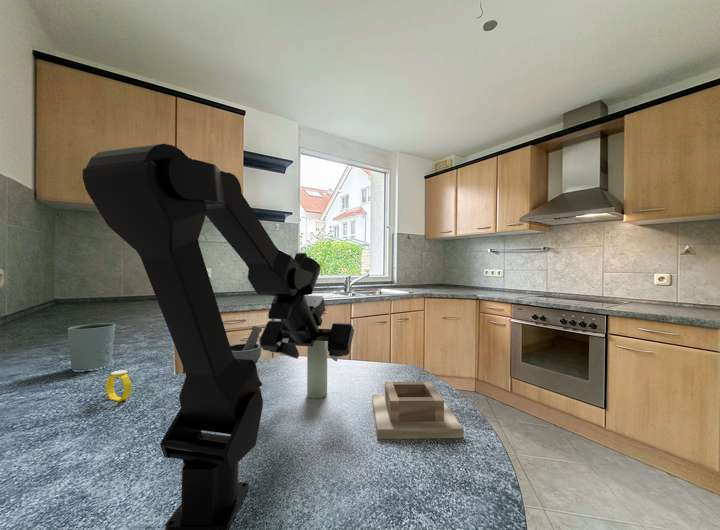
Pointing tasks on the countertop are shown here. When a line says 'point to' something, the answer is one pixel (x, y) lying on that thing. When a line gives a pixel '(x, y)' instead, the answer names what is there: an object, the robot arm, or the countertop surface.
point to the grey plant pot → (91, 345)
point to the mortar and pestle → (248, 347)
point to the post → (317, 370)
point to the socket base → (413, 413)
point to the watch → (126, 382)
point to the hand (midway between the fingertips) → (317, 357)
